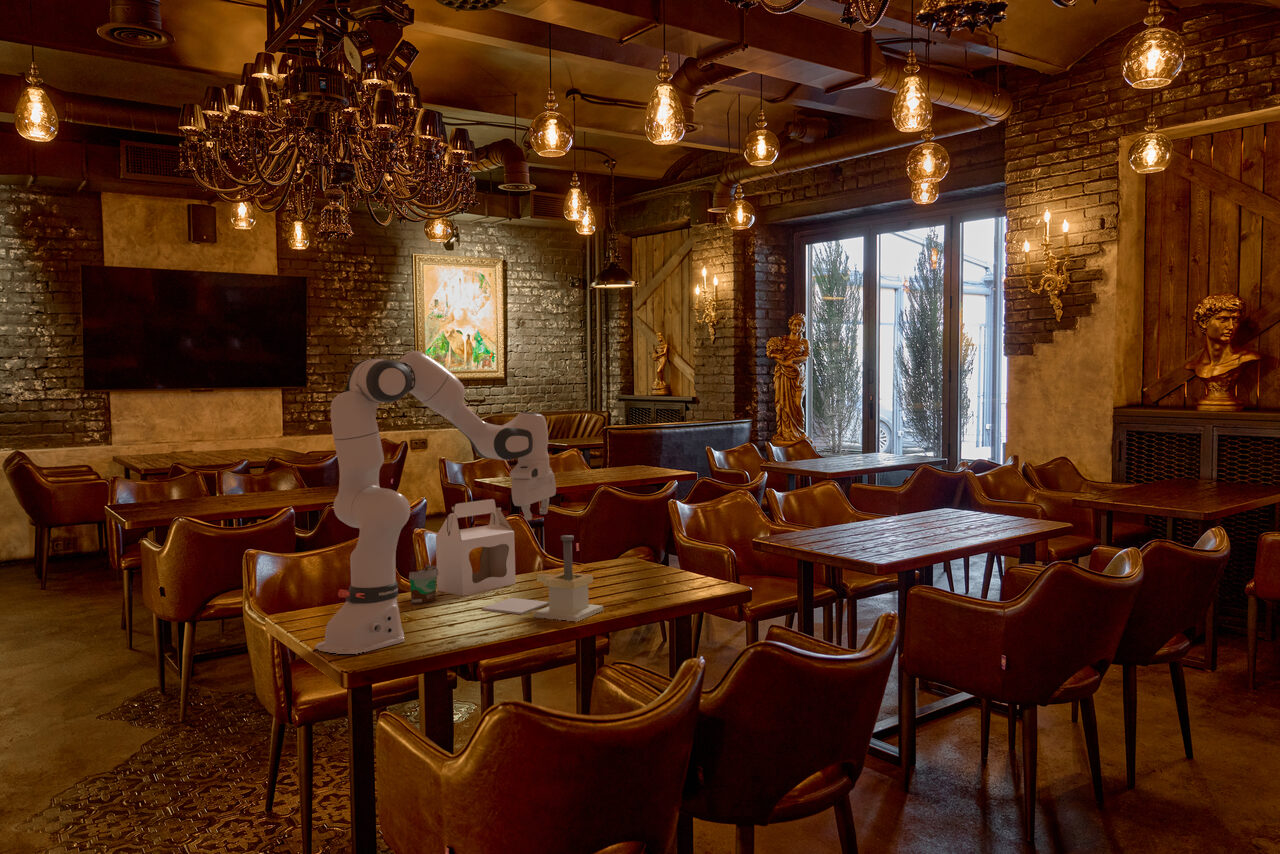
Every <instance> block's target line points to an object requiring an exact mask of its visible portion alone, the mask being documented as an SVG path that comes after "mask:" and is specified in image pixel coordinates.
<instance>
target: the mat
mask: <svg viewBox="0 0 1280 854" xmlns="http://www.w3.org/2000/svg"><path fill="white" fill-rule="evenodd" d="M545 605H546V606H547V605H548V606H549V601H543V600H542V601H541V600H537V599H525V598H517V597H516V598H515V597H509V598H506V599H504V600H503V599H502V600H501V601H498V602H495V603H492V604H489V605H487V606H483V607H481V610H482V611H489V612H496V613H505V614H514V615H524V614H527V613H530V612H532V611H536V610H537V609H538V610H539V609H540V608H541V609H542V607H545Z"/></svg>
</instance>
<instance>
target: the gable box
mask: <svg viewBox="0 0 1280 854" xmlns="http://www.w3.org/2000/svg"><path fill="white" fill-rule="evenodd" d="M496 506H497V505H496V501H495V499H493V498H489V499H481V500H475V501H467V502H459V503H454V505H453V506H451V507H450V509H451V511H452V513H449V514H447V517H446V519H445V520H444V522H443V524H442V526H441V528H440V529H439V530H438V532H437V534H436V535H435V553H436V555H435V557H436V559H435V560H436V561H435V563H436V567H437V569H438V573H439V575H437V577H436V592H441V591H442V593H446V594H452V595H455V596H456V595H457V596H461V597H465V595H466V596H469V594H470V595H474V593H475V594H477V593H482V592H483V593H484V592H486V591H491V589H492V590H495V589H501V588H504V586H505V587H509V586H513V584H514V585H516V582H517V581H516V552H515V551H516V550H515V544H516V543H515V542H516V541H515V530H514V528H512V525H511V523H509V521H508V519H507V518H506V517H505V515H504V513H503V511H502V508H501V507H496ZM488 514H490V519H489V524H488V525H483V526H482V525H481V526H475V527H469V528H462V529H460V525H459V520H458V519H460V518H465V517H472V516H473V517H474V516H481V515H488ZM477 548H482V549H481V553H480V557H479V563H480V569H479V570H478V572H473V568H472V563H471V561H470V553H471V551H473V550H475V549H477ZM500 587H501V588H500Z"/></svg>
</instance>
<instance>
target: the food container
mask: <svg viewBox="0 0 1280 854" xmlns="http://www.w3.org/2000/svg"><path fill="white" fill-rule="evenodd" d="M408 574H409V575H408V580H409V584H410V587H409V588H410V597H411V605H412V606H420V605H428V604H432V603H434V602H436V598H437V597H436V595H437V575H439V573H438V569H437V565H433V564H432V565H431V564H430V565H429V564H425V568H423V569H417V570H416V571H409V573H408Z"/></svg>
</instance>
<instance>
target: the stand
mask: <svg viewBox="0 0 1280 854" xmlns="http://www.w3.org/2000/svg"><path fill="white" fill-rule="evenodd" d="M574 540H575V536H574V535H572V534H571V535H570V534H569V535H568V534H567V535H564V534H563V535H560V541H562V544H563V545H562V546H563V549H562V550H563V553H562V554H563V572H564V579H567V580H573V573H574V572H573V541H574ZM589 600H590V599H589V584H587V585H584V586H581V587H578V588H576V589H567V588H558V587H548V602H549V604H548V606H546V607H544V608H541V609H540V608H539V609H538V610H534V612H533V617H534V618H536V619H537V618H538V619H544V618H546V619H548V620H553V619H556V620H555V621H561V620H567V621H566V622H569V621H576V622H575V623H578V622H577V621H579V622H581V621H583V620H582V619H584V620H586V619H588V618H590V617H589V616H591V617H592V615H593V616H595V615H597V614H596V613H598V614H599V612H600V613H602V612H604V605H598V604H589V602H590V601H589ZM601 611H602V612H601ZM594 614H595V615H594ZM587 617H588V618H587ZM585 618H586V619H585ZM546 619H545V620H546ZM557 619H558V620H557ZM580 620H581V621H580Z"/></svg>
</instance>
